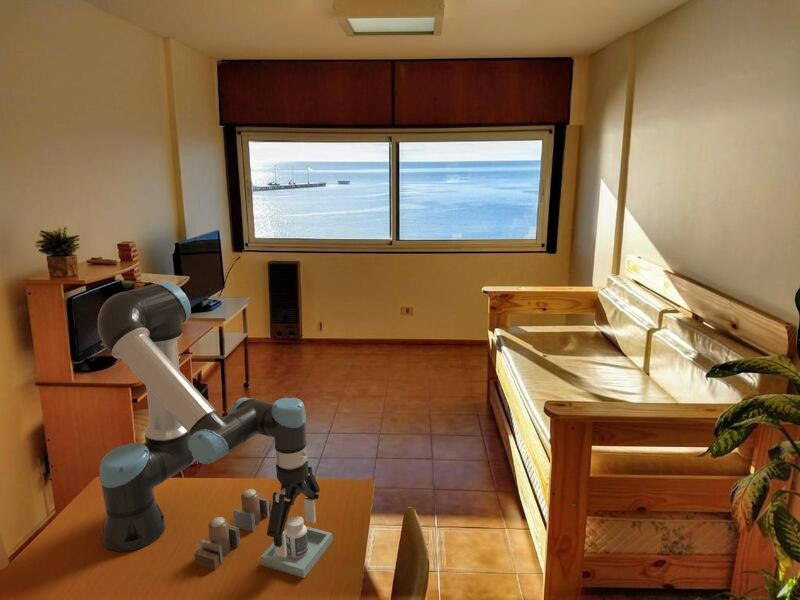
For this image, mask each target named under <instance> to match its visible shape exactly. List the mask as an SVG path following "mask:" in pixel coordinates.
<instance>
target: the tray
mask: <svg viewBox="0 0 800 600" xmlns="http://www.w3.org/2000/svg"><path fill="white" fill-rule="evenodd" d="M305 526H306V525H305ZM306 528H307V538H308V552H307V554H306V555H304V556H303V557H300V558H292V557H290V556H289V555H288V554H287V556H286V557H285V558H284V557H281V556H278V555H275V546H274V542H272V543H271V544H270V546H269V547H268V548H267V549H266V550H265V551H264V553H263V554H261V555H260V563H261V566H263V567H266V568H269V569H272V570H276V571H279V572H282V573H286V574H288V575H292V576H295V577H298V578H302V579H305V578H306V577H307V575H308V574H309V573H310V571H311V570H312V569H313V568H314V567H315V565H316V564H317V563H318V561H319V560H320V559H321V557H322V556H323V554H324V553H326V551H327V550H328V548H329V547H330V546H331V544H332V543H333V541H334V540H333V532H329V531H327V530H326V531H325V530H321V529H318V528H313V527H310V526H306ZM283 532H286V529H284V531H283ZM286 549H287V547H286Z"/></svg>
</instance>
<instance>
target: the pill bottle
mask: <svg viewBox="0 0 800 600" xmlns="http://www.w3.org/2000/svg"><path fill="white" fill-rule="evenodd" d="M304 521H305V520H304V518H303V517H302V516H301V515H295V516H291V517H290V518H287V521H286V523H287V524H286V526H287V527H286V528H285V530H286V532H285V534H286V547H287V554H288V555H289V556H290V557H292V558H300V557H303V556H304V555H306V554H307V552H308V538H307V528H306V525H305V524H304Z"/></svg>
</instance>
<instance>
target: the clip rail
mask: <svg viewBox="0 0 800 600" xmlns="http://www.w3.org/2000/svg"><path fill="white" fill-rule="evenodd" d="M259 503H260V515H261V516H263V517H267V518H268V517H270V514H271V509H272V504H273V500H270V499H268V498H264V497H260V496H259ZM232 516H233V524H234V525H231V524H230V525H229V524H228V529H229V539H230V547H231V546H232V547H236V548H239V547H240V546H241V539H240V538H241V537H240V529H241V530H244V531H249V532H252V533H253V532H255V531H256V525H255V518H254V513H252V512H248V511H244V510H242V508H241V509H240V508H236V507H235V508H234V509H233V510H232ZM198 543H199V548H198V549H197V550H196V551H195V552H194V553H193V555H194V562H195V564H196V565H199V566H202V567H206V568H208V569H211V570H214V571H216V570H217V569H218V568H219V567H220V566H221V565H222V564H223V563H224V560H223V558H224V557H222V548H221V544H217V543H214V542H211V541H210V540H207V539H205V538H200V539H199V541H198Z"/></svg>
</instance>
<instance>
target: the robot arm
mask: <svg viewBox="0 0 800 600" xmlns="http://www.w3.org/2000/svg"><path fill="white" fill-rule="evenodd" d="M190 303H191V302H190V300H189V297H188V296H187V294H186V293H185V292H184V291H183V290H182V288H181V287H179V286H178V285H177V284H175V283H173V282H168V281H165V282H158V283H151V284H149V285H144V286H142V287H137V288H134V289H131V290H127V291H121V292H117V293H116V294H113V295H112V296H110V297H108V298H107V299H106V301H105V302H104V303H103V304H102V306H101V308H100V309H99V312H98V316H97V333H98V336H99V338H100V340H101V343H102V345H103V346H104V347H105V349H106V350H107V351H108V352H109V354H111V356H112V357H113V358H115V359H121V360H122V361H123V362H124V363H125V364H126V365H127V367H128V368H130V370H131V371H132V372H133V373H134V375H136V377H137V378H139V380H140V381H141V382H142V383H143V385H144V386H145V389H146V398H147V399H146V400H147V408H148V419H149V424H148V425H147V427H146V428H145V430H144V440H145V441H144V443H141V442H129V443H127V444H122V445H119V446H117V447H115V448H113V449H112V450H109V452H107V453H106V454H105V455H104V457H102V460H101V461H100V463H99V481H100V484H101V488H102V489H101V490H102V496H103V502H104V508H105V518H104V526H103V529H102V532H101V536H102V543H103V545H104V547H105V548H106V549H108V550H110V551H114V552H119V553H120V552H122V553H123V552H131V551H132V552H133V551H135V550H139V549H142V548H144V547H147V546H148V545H151V544H152V543H154V542H155V541H156V540H157V539H159V537H161V536H162V534H163V533H164V531H165V530H166V518H165V514H164V513H163V511H162V509H161V508H160V506H159V505H158V503H157V501H156V499H155V490H154V489H155V488H156V487H158V486H159V485H160V484H163V483H164V482H166V481H167V480H169V479H170V478H172V477H174V476H175V475H177V474H179V473H180V472H182V471H184V470H186V469H188V468H189V467H190V466H191V465H193V464H194V463H195V462H196V461H197V462H198V463H200V464H203V465H208V464H211V463H213V462H215V461H218V460H219V459H221V458H223V457H225V456H227V454H229V453H231V452H232V451H233V450H234V449H236V448H238V447H239V446H241V445H242V444H244V443H246V442H247V441H249V440H251V439H252V438H254V437H255V436H257V435H263V436H266V437H271V438H273V443H274V458H275V460H274V462H275V463H276V464H275V469H276V471H275V473H276V478H277V480H278V481H279V483H280V485H281V486H280V491H278V492H276V491H275V492H273V494H272V501H273V504H272V509H271V514H270V515H269V521H268V525H267V529H266V530H267V531H266V536H269V537H270V538H273V543H274V546H275V555H278V556H281V557H284V558H285V557H286V556H287V549H286V534H285V532H284V531H285V527H286V525H287V524H286V523H287V521H288V519H289V518H288V517H289V514H290V511H291V508H292V506H294V503H295V500H296V499H297V498H298V496H300V495H301V494H303V496H305V498H304V499H303V502H304V503H303V504H304V519H305V520H304V521H305V522H307V523H311V524H316V522H317V520H316V519H317V517H316V516H317V515H316V500H318V499H320V495H319V494H318V493H320V491H321V488H320V486H319V484H318V482H317V480H316V478H315V476H314V474H313V467H312V466H309V461H308V448H307V447H308V446H307V445H308V441H307V416H306V411H305V409H306V408H305V404H304V402H303V401H302V399H299V398H297V397H287V396H286V397H283V398H280V399H277V400H275V401H274V402H273V403H271V402H267V401H264V400H260V399H257V398H249V397H240V398H238V399H237V400H235V403H234V404H232V406H231V407H230V410H229V413H228V414H225V416H222V415H221V414H220V413H219V412H218V411H217V410H216V409H215V408H214V407H213V406H212V404H211V403H210V402H209V401H208V400H207V399H206V398H205V397H204V396H203V395H202V394H201V393H200V391H199V390H198V389H197V388H196V387H195V386H194V385H193V383H192V382H191V381H190V380H189V379H188V378H187V377H186V376H185V375H184V374H183V373H182V372H181V370H180V360H179V347H178V346H179V345H178V340H179V339H180V338H181V337H182V336H183V332H184V331H183V324H184V323H185V322H187V320H188V319H189V318H190V316H191V312H192V310H191V309H192V308H191V304H190ZM288 500H289V501H288Z"/></svg>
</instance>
